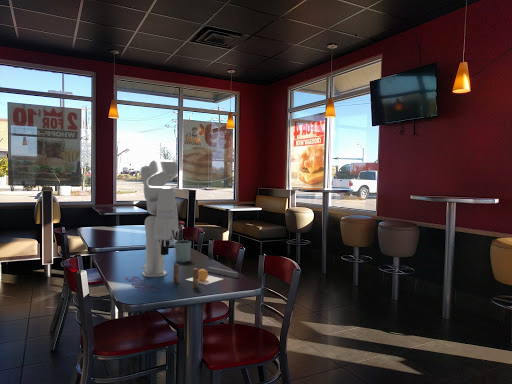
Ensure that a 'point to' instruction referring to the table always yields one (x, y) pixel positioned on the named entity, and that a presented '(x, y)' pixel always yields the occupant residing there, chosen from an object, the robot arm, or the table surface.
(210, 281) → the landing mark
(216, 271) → the wall
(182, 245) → the pale green bucket
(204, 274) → the ball
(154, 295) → the table surface
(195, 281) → the right post
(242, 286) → the table surface
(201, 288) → the table surface
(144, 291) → the signage
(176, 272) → the left post
